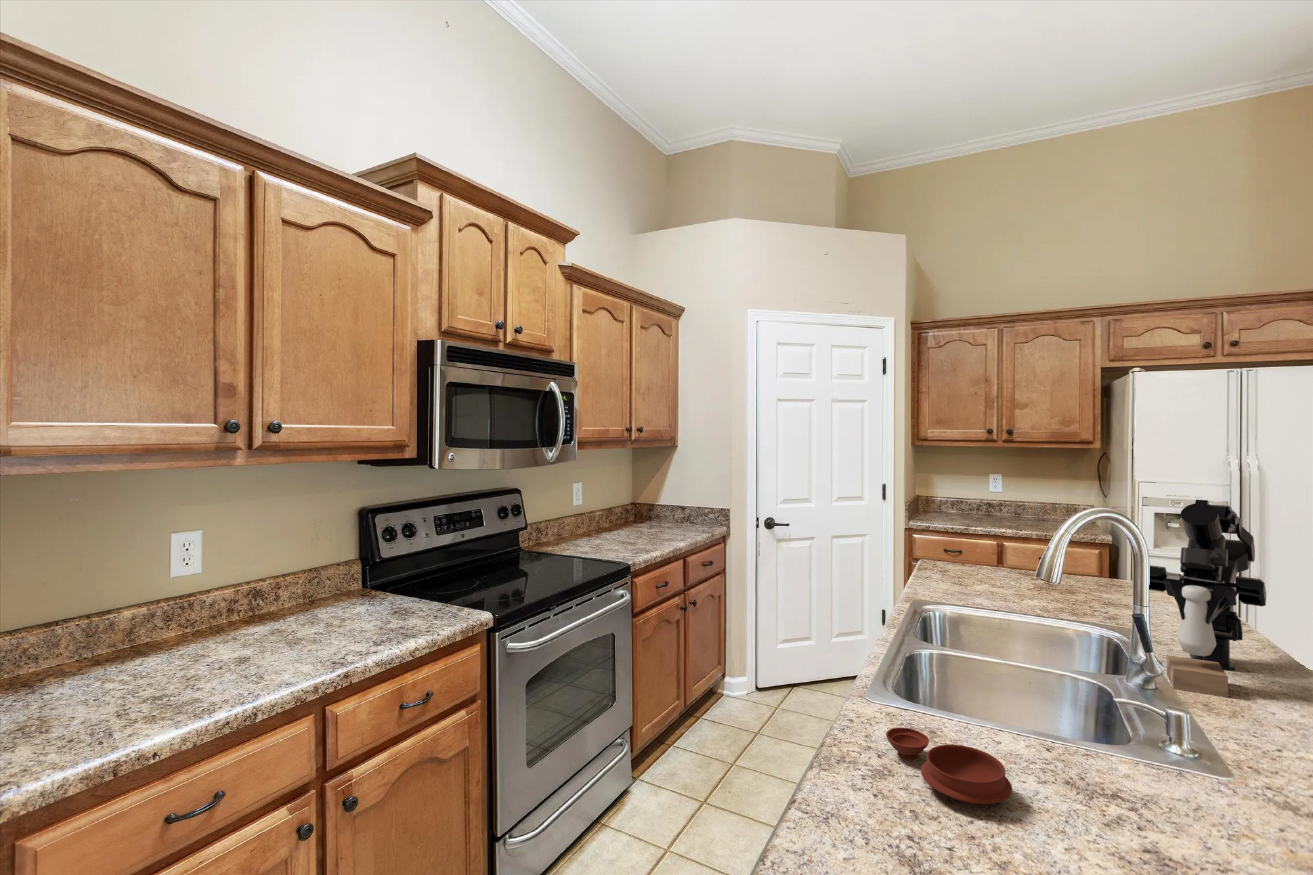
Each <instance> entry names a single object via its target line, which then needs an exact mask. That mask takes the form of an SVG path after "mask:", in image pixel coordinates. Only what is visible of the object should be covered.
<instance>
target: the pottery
mask: <svg viewBox="0 0 1313 875" xmlns="http://www.w3.org/2000/svg"><path fill="white" fill-rule="evenodd" d="M885 736H886V739H887V741H888V743H890V745H891V746H892V748H893V749H894V750H895V751H897V755H898V756H899V758H902V759H904V760H907V761H914V760H916V759H918V755H920V754H921V753H923V751H924V750H925V749H926V748H927V747H928V745H929V743H930V739H929V737H928V735H926V734H924V733H923V732H921V731H919V730H916V729H913V728H909V727H893V728H889V729H888V730H887V731H886V732H885ZM920 773H921V776H922V778H923V779H924V781H925V782H926V783H927V784H928V785H929V786H930V787H932V789H934V790H936V791H937V792H939V793H941V794H943V795H944V796H948V797H949V798H952V799H953V800H955V801H958V802H961V803H964V804H970V805H981V804H983V805H987V804H988V805H990V804H996V803H1001V802H1004V801H1006V800H1007V799H1008V798H1010V797H1011V795H1012V794H1013V785H1012V784H1011V782H1010V780H1009V779H1008V778H1007V777H1006V768H1005V766H1004V765H1003V762H1001V761H1000V760H999V759H998V758H996V757H994V756H993V755H991V754H990V753H987V752H986V751H983V750H981V749H977V748H975V747H971V746H968V745H967V746H966V745H963V744H961V745H960V744H940V745H937V746H934V747H931V748H930V749H929V750H928V751H927V753H926V761H924V763H923V764H922V766H921V769H920Z"/></svg>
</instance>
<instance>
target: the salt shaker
mask: <svg viewBox="0 0 1313 875" xmlns="http://www.w3.org/2000/svg"><path fill="white" fill-rule="evenodd" d="M1182 596H1183V597H1184V598H1186V603H1185V607H1184V619H1183V620H1182V618H1181V620H1180V624H1179V626H1178V631H1177V635H1176V636H1177V642H1178V643H1179V645H1180V648H1181V650H1182V651H1183V652H1184V653H1186V654H1189V655H1190V654H1191V655H1198V656H1208V655H1211V653H1212V652H1213V650H1214V648H1215V647H1216V639H1215V635H1214V631H1213V627H1212V622H1211V623H1210V624H1207V623H1206V615H1207V611H1208V605H1207V601H1208V600H1210V599H1211V593H1210V591H1209V590H1208V589H1207V588H1204V587H1200V586H1193V585H1189V586H1184V587H1183V588H1182Z"/></svg>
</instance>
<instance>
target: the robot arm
mask: <svg viewBox="0 0 1313 875" xmlns="http://www.w3.org/2000/svg"><path fill="white" fill-rule="evenodd" d="M1180 517H1181V518H1180V519H1181V521H1182V525H1183V528H1184V533H1185V536H1186V537H1187V538H1188V542H1187V547H1186V546H1185V547H1181V549H1180V559H1179V560H1180V561H1179V563H1180V569H1179V570H1180V572H1181V573H1182V574H1180V573H1177V572H1171V571H1167V568H1166V566H1159V565H1150V585H1149V591H1156V592H1160V593H1161V592H1162V593H1163V592H1165V591H1166V594H1167V595H1168V597H1172V598H1174V600H1175V602H1176V604H1177V606H1178V610H1179V614H1180V617H1181V619H1182V620H1183V619H1184V607H1185V603H1186V598H1184V597H1183V596H1182V588H1183V587H1184V586H1189V585H1193V586H1200V587H1204V588H1207V589H1208V590H1209V591H1210V593H1211V599H1210V600H1208V601H1207V605H1208V611H1207V615H1206V623H1207V624H1210V623H1211V622H1212V627H1213V631H1214V635H1215V639H1216V647H1215V648H1214V650H1213V652H1212V653H1211V655H1208V656H1198V655H1191V654H1189V656H1190V657H1189V658H1191V659H1198V660H1205V661H1212V662H1218V663H1219V664H1220V666H1221V667H1222V669H1223V670H1232V671H1235V670H1236V667H1235V665H1234V664H1233V663H1232V661H1231V650H1230V649H1231V647H1230V646H1231V645H1230V644H1231V643H1230V642H1231V641H1232V642H1237V641H1243V637H1244V636H1243V626H1242V625H1243V624H1242V619H1240V617H1239V616H1238V612H1237V611H1235V608H1234V606H1236V605H1237V596H1238V600H1239V601H1240V602H1241V603H1242V605H1243V604H1244V605H1249V606H1257V607H1265V606H1266V605H1267V590H1266V589H1267V588H1266V583H1265V582H1264V581H1263V580H1262V579H1261V578H1255V577H1254V578H1253V577H1247V576H1238V573H1241V572H1244V571H1248V570H1249V568H1250V566H1251V563H1254V562H1255V560H1256V548H1255V540H1254V536H1253V535H1252V534H1251V533H1250V532H1249V531H1248V530H1247V529H1246V528H1245V527H1243V522H1242V518H1241V517H1239V516H1238V514H1237V513H1236V511H1234V510H1233V508H1232V507H1231V506H1230V505H1224V504H1223V505H1222V504H1210V503H1209V500H1207V499H1195V501H1194V503H1191V504H1188V505H1186V506H1185V507H1183V509H1182V510H1181V511H1180ZM1224 534H1230V535H1231V534H1232V535H1236V537H1237V538H1238V539H1239V540H1236V539H1226V537H1225V536H1224Z"/></svg>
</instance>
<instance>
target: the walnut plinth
mask: <svg viewBox="0 0 1313 875" xmlns="http://www.w3.org/2000/svg"><path fill="white" fill-rule="evenodd" d="M1166 676H1167V678H1168V680H1169V683H1170V685H1171V687H1172V688H1173V689H1174V690H1179V691H1186V692H1192V693H1197V692H1198V694H1203V695H1209V694H1210V695H1211V696H1217V697H1221V696H1223V697H1224V698H1229V676H1228V674H1227V673H1226V671H1225V669H1223V668H1222V667H1221V666H1220V664H1219V663H1218V662H1212V661H1205V660H1198V659H1191V657H1183V656H1176V655H1169V654H1168V655H1166Z"/></svg>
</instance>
